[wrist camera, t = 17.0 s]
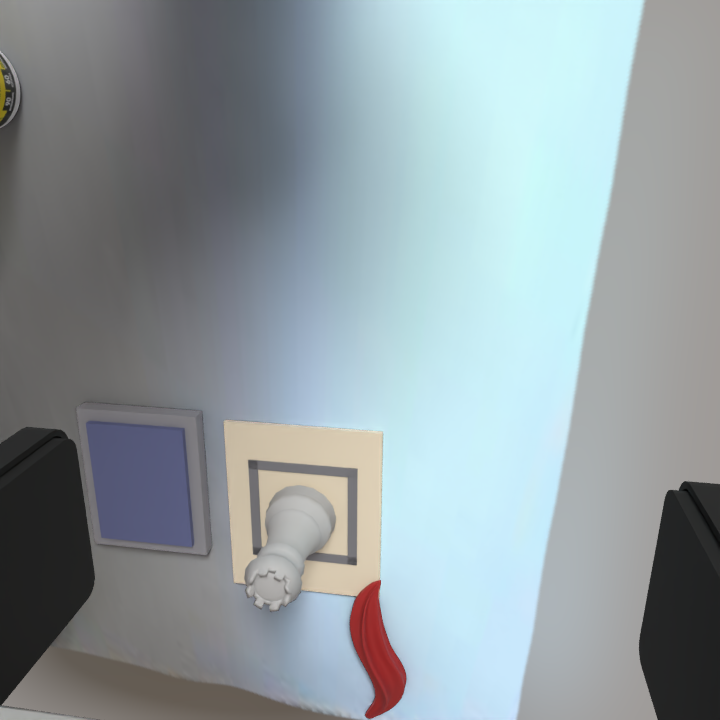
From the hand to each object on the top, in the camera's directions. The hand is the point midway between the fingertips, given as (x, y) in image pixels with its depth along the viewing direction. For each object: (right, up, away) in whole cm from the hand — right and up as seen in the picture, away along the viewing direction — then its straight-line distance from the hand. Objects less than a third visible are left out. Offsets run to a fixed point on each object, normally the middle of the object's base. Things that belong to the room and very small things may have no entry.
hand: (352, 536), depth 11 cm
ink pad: (-14, -5, +34) cm, 37 cm away
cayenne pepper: (+1, -17, +36) cm, 40 cm away
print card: (-3, -7, +33) cm, 34 cm away
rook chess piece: (-3, -7, +33) cm, 34 cm away
